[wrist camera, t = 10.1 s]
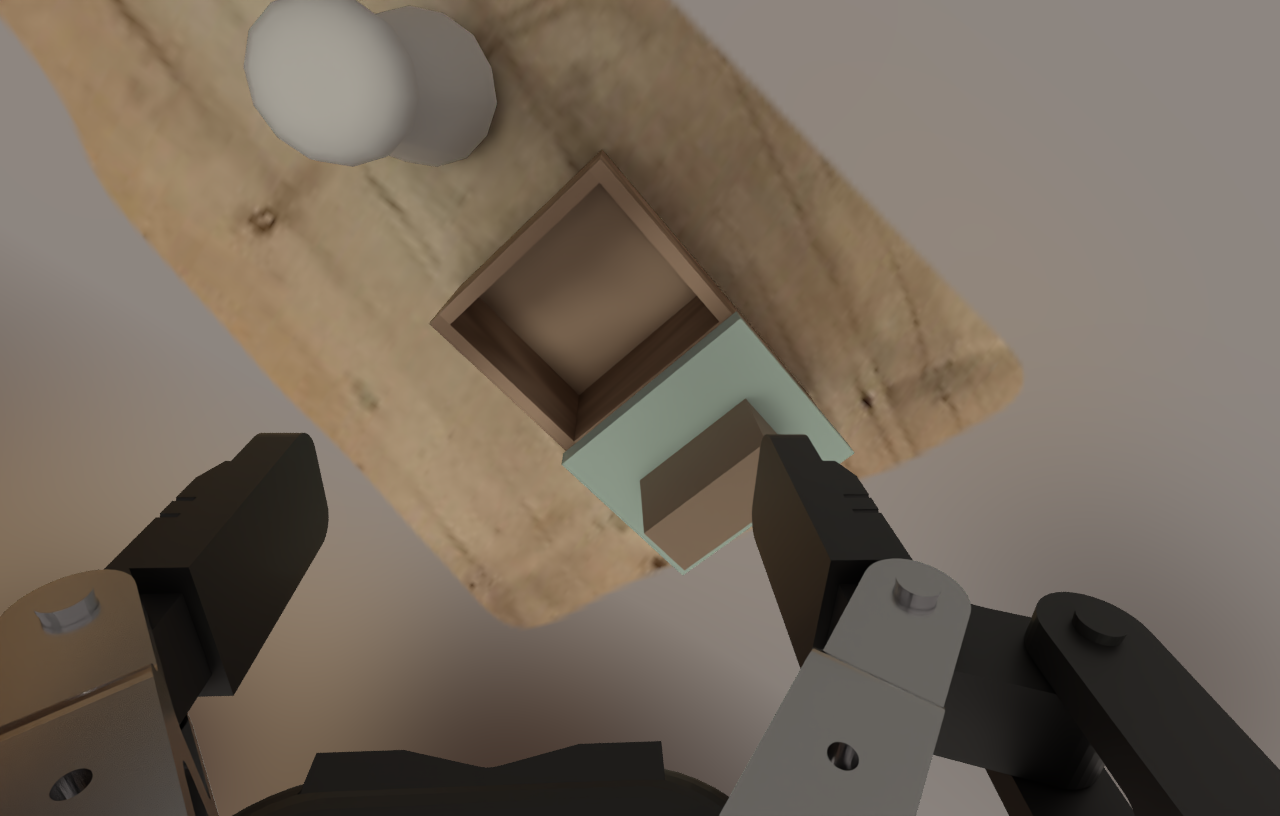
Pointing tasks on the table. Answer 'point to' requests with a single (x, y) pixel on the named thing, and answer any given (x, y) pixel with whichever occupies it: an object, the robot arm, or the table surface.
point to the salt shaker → (369, 82)
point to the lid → (698, 444)
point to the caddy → (584, 305)
